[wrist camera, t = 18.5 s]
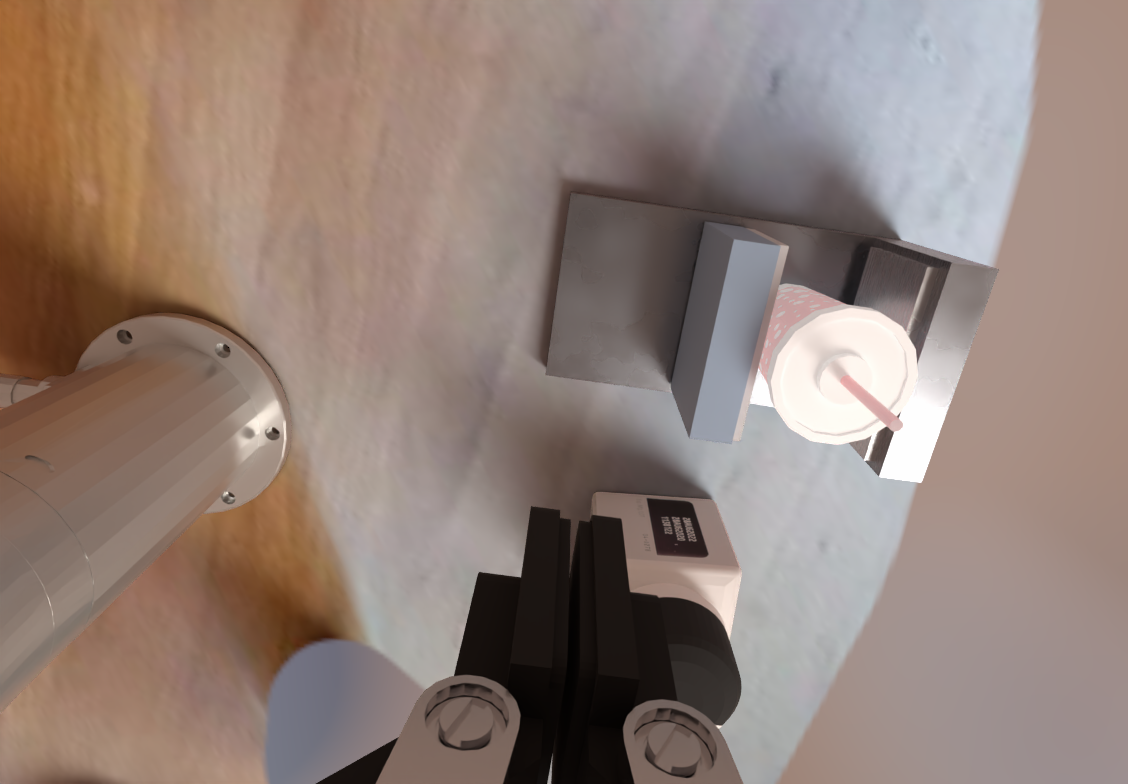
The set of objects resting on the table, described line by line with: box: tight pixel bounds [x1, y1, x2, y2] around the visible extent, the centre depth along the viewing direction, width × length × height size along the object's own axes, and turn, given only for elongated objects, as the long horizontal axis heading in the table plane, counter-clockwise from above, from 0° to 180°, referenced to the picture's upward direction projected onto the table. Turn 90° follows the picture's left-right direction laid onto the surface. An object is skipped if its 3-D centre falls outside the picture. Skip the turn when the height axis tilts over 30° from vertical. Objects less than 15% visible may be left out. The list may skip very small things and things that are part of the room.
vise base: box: [546, 191, 999, 482], centre depth 34 cm, size 18×10×9 cm, turn 82°
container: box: [590, 492, 742, 729], centre depth 37 cm, size 8×8×13 cm
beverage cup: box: [758, 283, 918, 445], centre depth 30 cm, size 6×6×14 cm
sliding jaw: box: [671, 221, 789, 444], centre depth 33 cm, size 2×9×7 cm, turn 172°
